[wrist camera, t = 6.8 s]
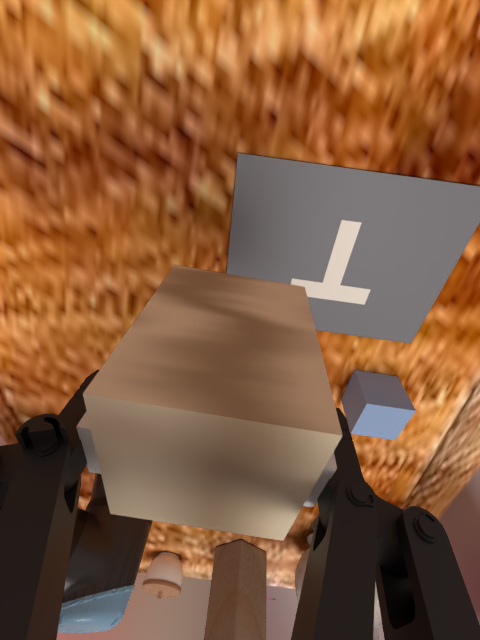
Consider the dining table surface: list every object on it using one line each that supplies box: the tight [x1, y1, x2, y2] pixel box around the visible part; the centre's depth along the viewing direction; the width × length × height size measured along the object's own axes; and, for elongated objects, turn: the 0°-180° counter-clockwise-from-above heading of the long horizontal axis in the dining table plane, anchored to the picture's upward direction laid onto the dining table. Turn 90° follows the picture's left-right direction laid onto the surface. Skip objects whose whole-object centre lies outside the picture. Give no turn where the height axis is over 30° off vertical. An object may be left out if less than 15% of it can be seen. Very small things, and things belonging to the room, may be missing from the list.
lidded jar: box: [142, 552, 183, 600], centre depth 80 cm, size 11×11×9 cm
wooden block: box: [204, 539, 266, 640], centre depth 69 cm, size 10×10×20 cm
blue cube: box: [341, 370, 416, 440], centre depth 39 cm, size 6×6×6 cm
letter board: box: [226, 153, 480, 343], centre depth 31 cm, size 24×18×1 cm
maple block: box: [83, 265, 343, 541], centre depth 13 cm, size 7×7×9 cm
